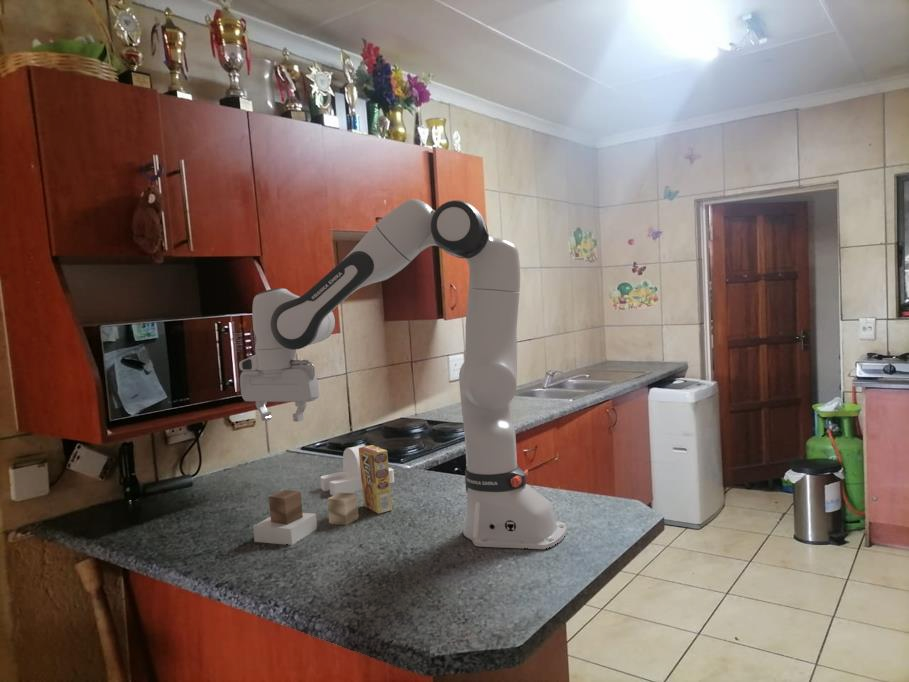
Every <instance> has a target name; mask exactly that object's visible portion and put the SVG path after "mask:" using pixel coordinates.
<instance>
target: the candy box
mask: <svg viewBox="0 0 909 682" xmlns="http://www.w3.org/2000/svg"><path fill="white" fill-rule="evenodd" d="M388 454H389V453H388V450H387V449H384V448H381V447H379V446H375V445H373V444H372V445H365V446H362V447H360V448H359V458H360V469H361V481H362V490H361V491H362V500H363V502H362V503H363V506H364V507H366V508H368V509H370V511H372V512H374V513H377V514H383V513H386V512H390V511H392V510H393V507H392V504H393V503H392V491H391V490H392V489H391V483H390V478H389V468H390V467H389V458H388V456H389V455H388Z"/></svg>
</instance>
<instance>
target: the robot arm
mask: <svg viewBox="0 0 909 682" xmlns="http://www.w3.org/2000/svg"><path fill="white" fill-rule="evenodd" d="M488 230H489V229H488V226H487V224H486V222H485V219H484V217H483V216H482V213H480V212H479V210H478V209H476V207H474V205H472V204H471V203H469V202H467V201H464V200H459V199H458V200H457V199H456V200H454V199H453V200H450V201H446V202H444V203H442V204H440V205H439V206H438V207H437V208H436V210H435V209H433V208H432V206H430V205H429V204H428V203H427V202H425V201H422V200H420V199H418V198H411V199H407V200H405V201H403V202H402V203H400V204H399V205H397V206H396V207H394V209H392V210H391V211H389V212H388V213H387V214H386V215H385V216H383V217H382V218H381V219H380V220H379V221H378V222H377V223H376V224H374V226H373V227H371V229H370V230H369V231H368V232H366V234H364V236H363V237H362V238H361V239H360V240H359V242H358V243H357V244H356V245H355V246H354V247H353V249H351V250H350V251H349V253H348V254H347V255H346V256H345V257H344V258H343V259H342V260H341V261H340V262H339V263H338V264H337V265H336V266H335V267H334V268H332V270H331V271H329V272H328V273H327V274H326V275H325V276H324V277H322V278H321V279H320V280H319V281H318V282H316V283H315V284H314V286H312V287H311V288H310V289H309V290H307V291H306V292H305V293H304V294H303V295H301V296H299V295H297V294H294V293H293V292H291V291H289V290H288V289H287V288H284V287H277V288H271V289H267V290H263V291H261V292H259V293H257V294H256V295H255V296H254V298H253V301H252V310H251V311H252V312H251V313H252V329H253V333H254V336H255V339H256V340H255V341H256V342H255V347H254V351H255V354H253V355H251V356H249V357H247V358H245V359H243V360H240V361H239V364H238V366H239V370H240V371H241V372H240V377H239V383H240V385H239V387H240V395H241V397H242V399H243V401H244V402H255V407H256V409H257V411H258V412H259V414H260V420H261V421H265V422H267V421H270V420H271V419H272V412H271V411H268V408H267V407H266V405H267V403H268V402H270V403H271V402H274V403H275V402H279V403H281V402H283V403H284V402H289V403H291V402H292V403H294V405H295V407H297V408H296V412H295V413H292V418H293V420H292V421H294V422H302V421H304V412H305V409H306V407H307V403H309V402H312V401H317V400H318V398H319V397H320V388H319V383H318V379H317V376H316V375H317V374H316V371H315V370H316V369H315V365H314V364H313V363H312V362H311V361H309V360H308V359H302V360H300V359H297V350H300V349H303V348H306V347H307V346H311V345H314V344H317V343H321V342H323V341H325V340H326V339H328V338H330V336H331V335H332V334H333V333H334V330H335V328H336V317H335V313H334V310H335V309H337V307H338V306H339V305H340V304H342V303H343V302H344V301H345V300H346V299H347V298H348V297H350V295H352V294H354V293H355V292H356V291H358V290H360V289H361V288H364V287H368V286H369V285H372V284H374V283H379V282H384V281H387V280H388V279H390V278H391V277H393V276H395V275H396V274H398V273H399V272H401V271H402V270H403V269H404V268H406V267H407V266H408V265H409V264H410V263H411V262H412V261H413V260H414V259H415V258H417V256H418V255H419V254H420V253H421V252H423V251H425V250H426V249H427V248H429V247H433V246H435V247H438V248H439V249H441V250H442V251H443V252H445V253H446V254H448V255H450V256H453V257H455V258H459V259H465V260H466V262H467V264H468V269H469V276H468V287H467V288H468V289H467V300H466V301H467V302H466V314H465V343H464V344H465V350H464V351H465V352H464V362H463V363H462V365H461V367H460V368H459V372H458V381H459V393H460V402H461V403H460V404H461V405H460V406H461V413H462V422H463V431H464V444H465V445H464V446H465V459H466V460H465V461H466V462H465V463H466V468H465V469H464V475H465V476H464V481H465V490H466V491H465V492H466V493H467V496H466V497H467V499H466V500H467V501H466V502H467V504H466V514H465V522H464V526H463V530H462V533H463V536H464V537H466V538H467V539H469V540H471V542H472V543H473V545H474V546H475V547H478V548H479V547H481V548H482V547H483V548H484V547H485V548H503V549H504V548H506V549H507V548H508V549H524V548H526V549H527V548H528V549H529V550H546V548H547V549H549V547H550V548H552V547H554V546H556V545H558V544H559V543H560V542H562V541H563V539H564V538H565V537H566V536H567V533H568V531H567V530H568V529H567V525H566V524H565V523H564V522H562V521H557V518H556V513H555V510H554V507H553V504H552V503H551V501H550V500H548V499H547V498H546V497H544V496H543V495H542V494H540V493H539V492H538V491H536V490H535V489H534V488H532V487H531V486H530V485H529V484H527V476H528V475H529V469H526V470H522V468H520V466H519V465H518V462H517V461H518V460H517V459H518V457H517V441H516V440H517V439H516V430H515V425H514V424H515V423H514V418H513V412H512V405H511V401H513V398H514V397H515V394H516V392H517V388H518V387H517V382H518V381H517V380H518V379H517V377H518V340H517V339H518V338H517V335H518V333H517V332H518V331H517V328H518V318H519V317H518V316H519V315H518V314H519V304H520V291H521V265H520V264H521V262H520V253H519V250H518V248H517V246H516V245H515V244H514V243H512V242H511V241H508V240H507V239H503V238H500V237H499V238H496V237H492V236H491V235H490V234H489V231H488ZM564 536H565V537H564ZM557 543H558V544H557ZM555 544H556V545H555Z"/></svg>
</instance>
